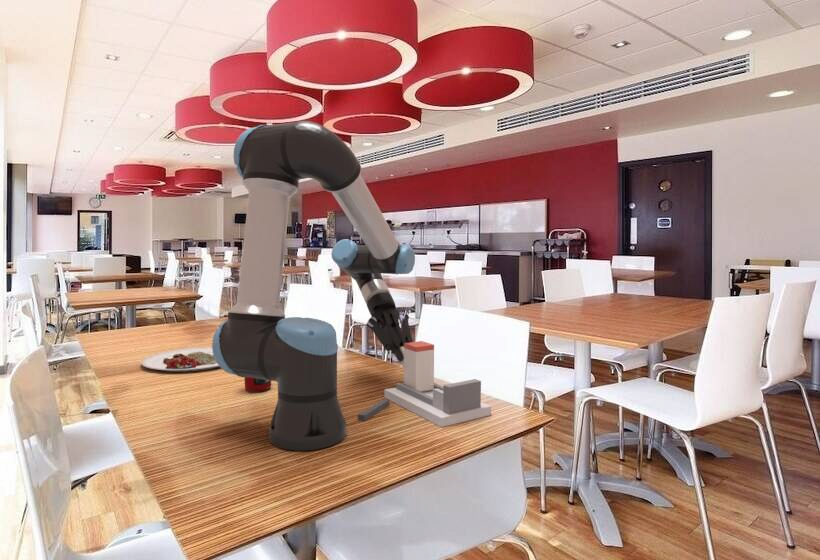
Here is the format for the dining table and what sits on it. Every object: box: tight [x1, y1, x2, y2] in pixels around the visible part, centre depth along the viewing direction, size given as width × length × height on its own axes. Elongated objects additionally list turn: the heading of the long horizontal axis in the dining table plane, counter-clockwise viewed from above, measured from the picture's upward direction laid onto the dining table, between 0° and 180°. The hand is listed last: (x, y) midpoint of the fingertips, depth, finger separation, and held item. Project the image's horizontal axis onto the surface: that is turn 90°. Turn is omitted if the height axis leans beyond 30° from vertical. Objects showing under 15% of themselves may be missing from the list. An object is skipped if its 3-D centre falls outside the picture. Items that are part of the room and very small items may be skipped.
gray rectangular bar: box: [357, 398, 390, 422], centre depth 116 cm, size 12×2×2 cm, turn 155°
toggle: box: [403, 340, 435, 392], centre depth 125 cm, size 5×5×11 cm
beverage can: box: [243, 377, 272, 393], centre depth 132 cm, size 7×7×12 cm
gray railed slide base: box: [384, 378, 492, 428], centre depth 120 cm, size 24×14×8 cm, turn 33°
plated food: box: [141, 346, 221, 373], centre depth 162 cm, size 30×30×3 cm
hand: (410, 370), depth 130 cm, fingers closed
